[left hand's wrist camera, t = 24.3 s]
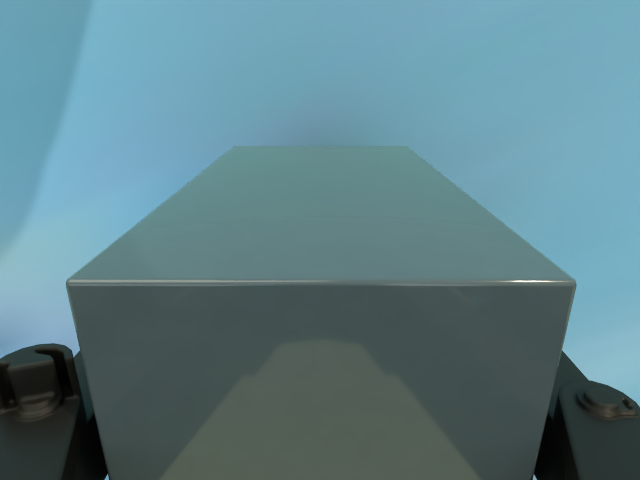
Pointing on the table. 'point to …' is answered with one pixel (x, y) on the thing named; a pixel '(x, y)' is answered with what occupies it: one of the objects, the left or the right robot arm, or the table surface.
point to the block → (320, 326)
